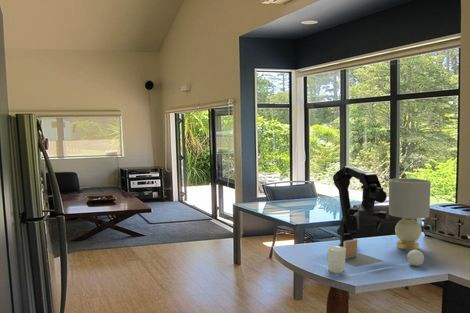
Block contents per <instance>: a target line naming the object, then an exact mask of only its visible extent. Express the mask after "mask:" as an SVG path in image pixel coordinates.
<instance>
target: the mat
mask: <svg viewBox="0 0 470 313" xmlns="http://www.w3.org/2000/svg"><path fill="white" fill-rule="evenodd" d="M382 262H384V260H382V259H380V258H376V257H373V256H370V255H367V254H363V253H361V252H357V256H354V257H348V258H345V264H347V265H350V266H353V267H361V266H366V265H371V264H377V263H382Z"/></svg>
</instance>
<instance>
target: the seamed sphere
mask: <svg viewBox="0 0 470 313" xmlns="http://www.w3.org/2000/svg"><path fill="white" fill-rule="evenodd" d="M406 258H407V259H406V260H407V261H408V263H409V264H410V265H411V266H414V267H419V266H421V265H422V264H423V263H424V262H425V256H424V254H423V252H422V251H420V250H419V249H417V250H409V251H408V253H407V255H406Z"/></svg>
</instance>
